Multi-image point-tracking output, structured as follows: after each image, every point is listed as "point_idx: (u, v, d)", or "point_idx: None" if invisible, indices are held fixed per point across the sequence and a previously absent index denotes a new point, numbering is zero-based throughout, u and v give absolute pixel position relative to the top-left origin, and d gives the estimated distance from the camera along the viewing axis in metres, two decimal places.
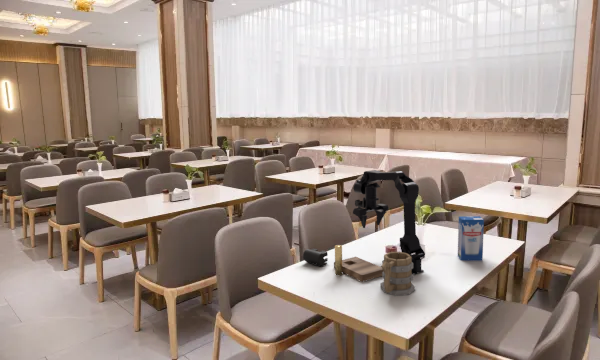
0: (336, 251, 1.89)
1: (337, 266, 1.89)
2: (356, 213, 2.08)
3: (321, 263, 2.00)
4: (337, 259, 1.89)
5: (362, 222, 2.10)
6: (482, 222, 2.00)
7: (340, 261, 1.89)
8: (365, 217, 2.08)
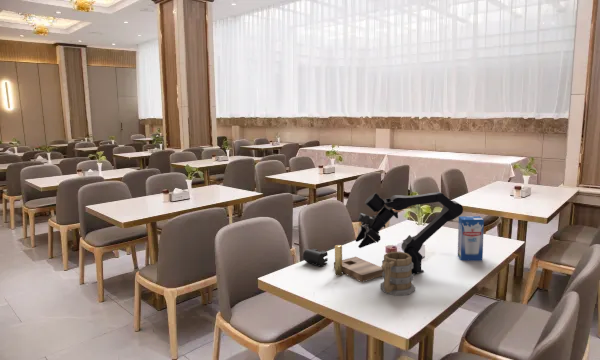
0: (336, 251, 1.89)
1: (337, 266, 1.89)
2: (373, 237, 1.80)
3: (321, 263, 2.00)
4: (337, 259, 1.89)
5: (364, 243, 1.85)
6: (482, 222, 2.00)
7: (340, 261, 1.89)
8: None
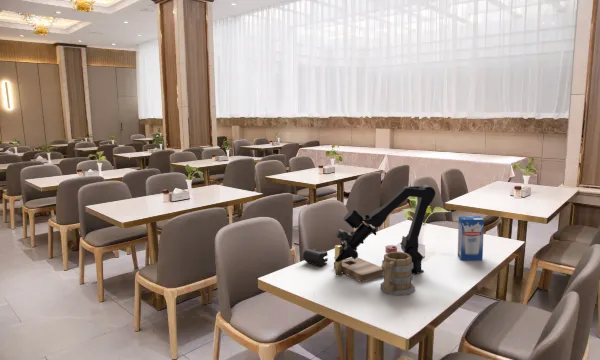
0: (336, 251, 1.89)
1: (337, 266, 1.89)
2: (351, 254, 1.81)
3: (321, 263, 2.00)
4: None
5: (341, 257, 1.87)
6: (482, 222, 2.00)
7: (340, 261, 1.89)
8: None
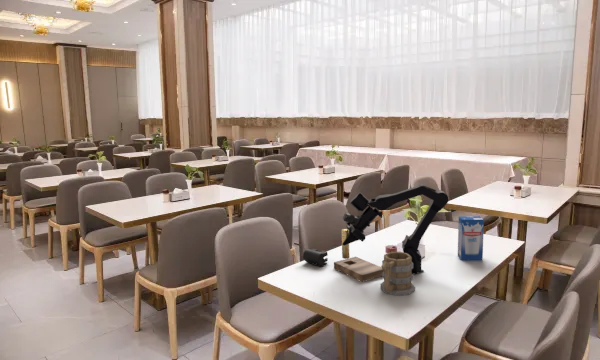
0: (343, 234, 1.91)
1: (344, 249, 1.92)
2: (358, 236, 1.83)
3: (321, 263, 2.00)
4: None
5: (348, 240, 1.90)
6: (482, 222, 2.00)
7: (347, 244, 1.91)
8: None
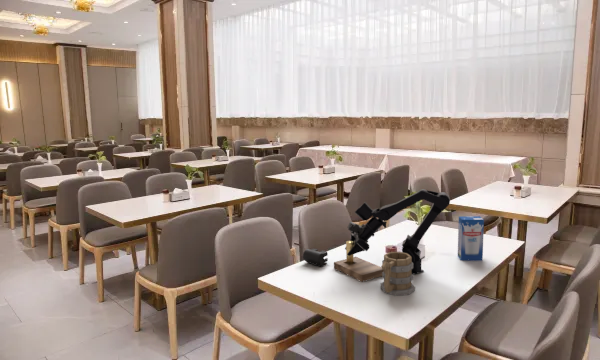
0: (347, 246, 1.94)
1: (348, 261, 1.95)
2: (362, 246, 1.86)
3: (321, 263, 2.00)
4: None
5: (353, 251, 1.91)
6: (482, 222, 2.00)
7: (351, 256, 1.95)
8: None
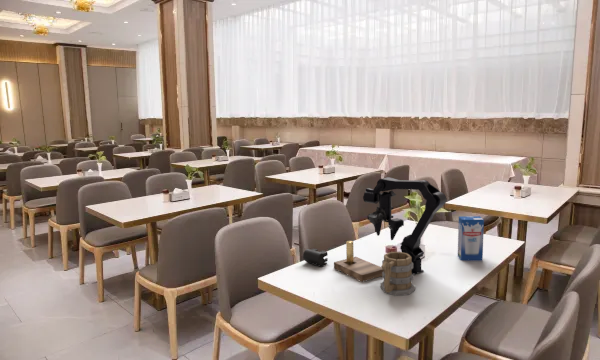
0: (348, 246, 1.94)
1: (349, 261, 1.95)
2: (399, 224, 1.91)
3: (321, 263, 2.00)
4: (349, 254, 1.95)
5: (394, 234, 1.95)
6: (482, 222, 2.00)
7: (351, 256, 1.95)
8: None
